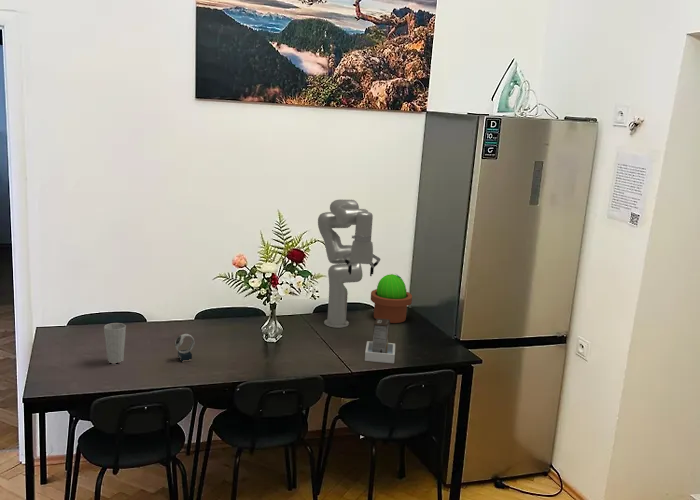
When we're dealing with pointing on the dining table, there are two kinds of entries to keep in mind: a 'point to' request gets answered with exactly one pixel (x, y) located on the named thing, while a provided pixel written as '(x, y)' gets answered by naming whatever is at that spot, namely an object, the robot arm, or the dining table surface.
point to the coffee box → (381, 335)
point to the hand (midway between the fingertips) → (360, 274)
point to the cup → (115, 341)
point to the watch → (184, 353)
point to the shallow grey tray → (380, 354)
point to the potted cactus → (391, 299)
